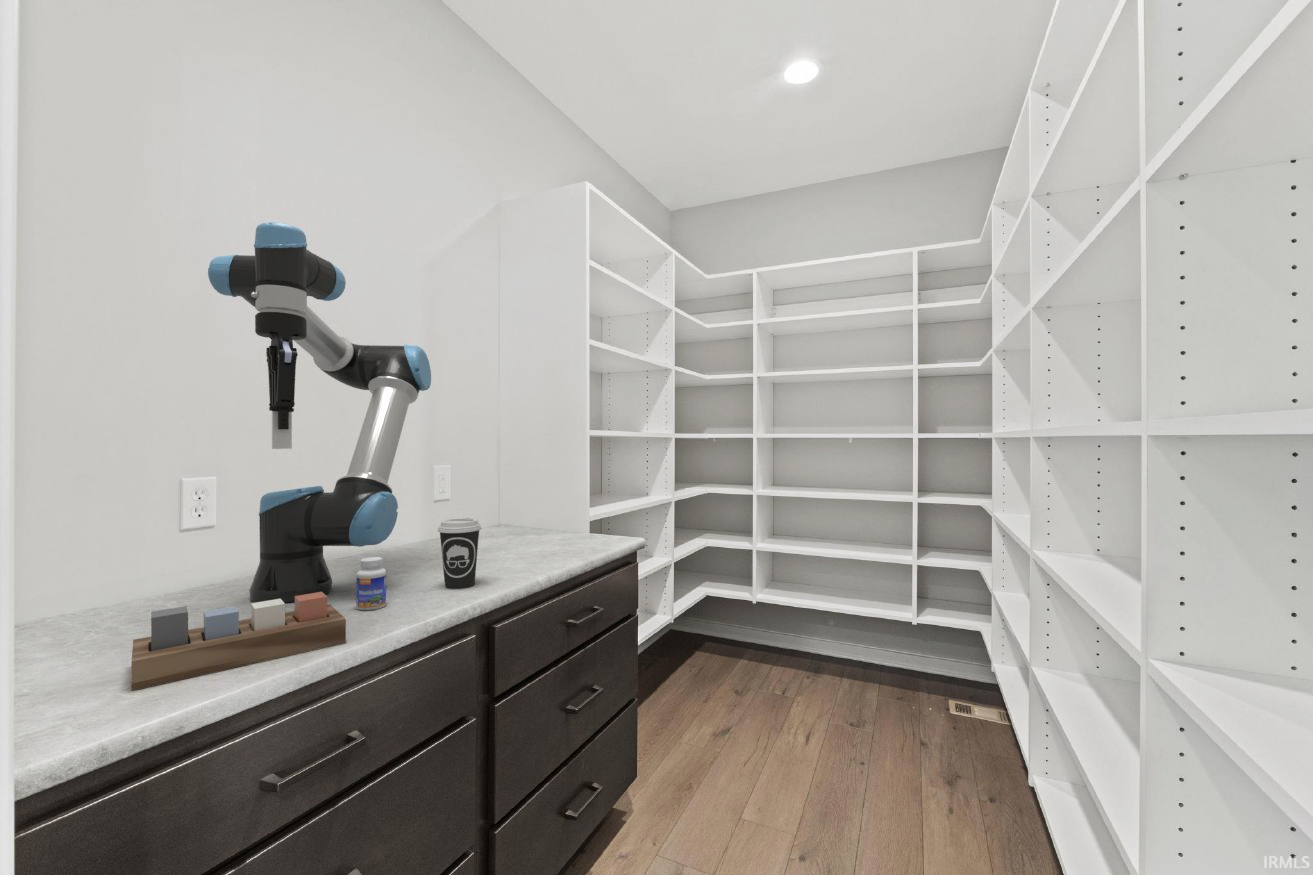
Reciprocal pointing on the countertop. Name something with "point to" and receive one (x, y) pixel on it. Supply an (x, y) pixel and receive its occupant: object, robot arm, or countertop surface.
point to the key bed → (233, 649)
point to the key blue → (221, 623)
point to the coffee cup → (459, 551)
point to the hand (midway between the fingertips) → (281, 448)
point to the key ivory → (267, 614)
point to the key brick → (310, 607)
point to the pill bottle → (371, 584)
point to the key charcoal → (169, 628)
